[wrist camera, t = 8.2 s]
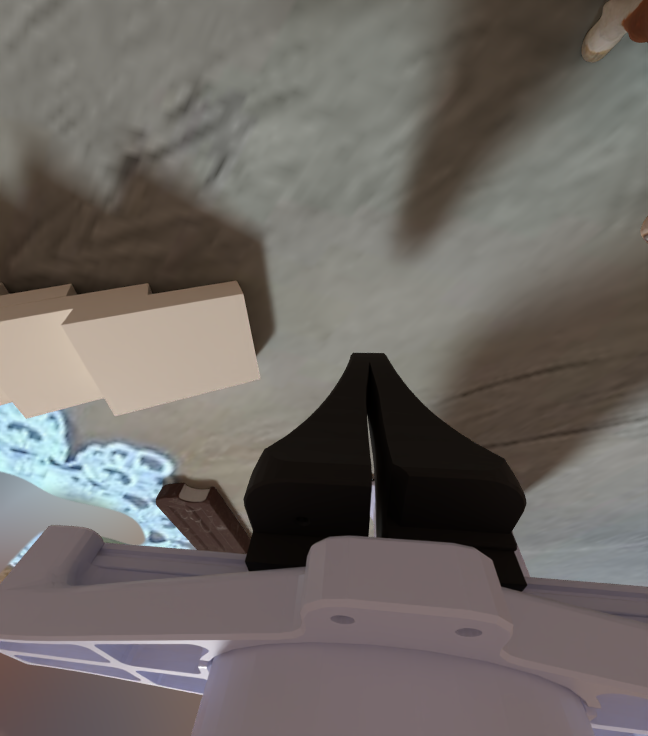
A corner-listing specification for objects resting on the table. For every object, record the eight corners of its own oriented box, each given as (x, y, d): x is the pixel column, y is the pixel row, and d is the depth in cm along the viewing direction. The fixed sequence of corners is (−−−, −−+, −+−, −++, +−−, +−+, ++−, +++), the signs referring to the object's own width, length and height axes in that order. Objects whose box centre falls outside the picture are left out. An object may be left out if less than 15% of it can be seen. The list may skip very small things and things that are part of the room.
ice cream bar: (267, 559, 34) (212, 477, 26) (263, 576, 33) (204, 495, 24) (224, 559, 35) (158, 480, 27) (219, 575, 34) (148, 497, 26)
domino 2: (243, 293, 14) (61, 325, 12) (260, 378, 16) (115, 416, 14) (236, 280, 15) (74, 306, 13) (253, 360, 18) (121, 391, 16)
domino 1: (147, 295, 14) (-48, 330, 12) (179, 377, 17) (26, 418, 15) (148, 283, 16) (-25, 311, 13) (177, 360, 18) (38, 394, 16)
